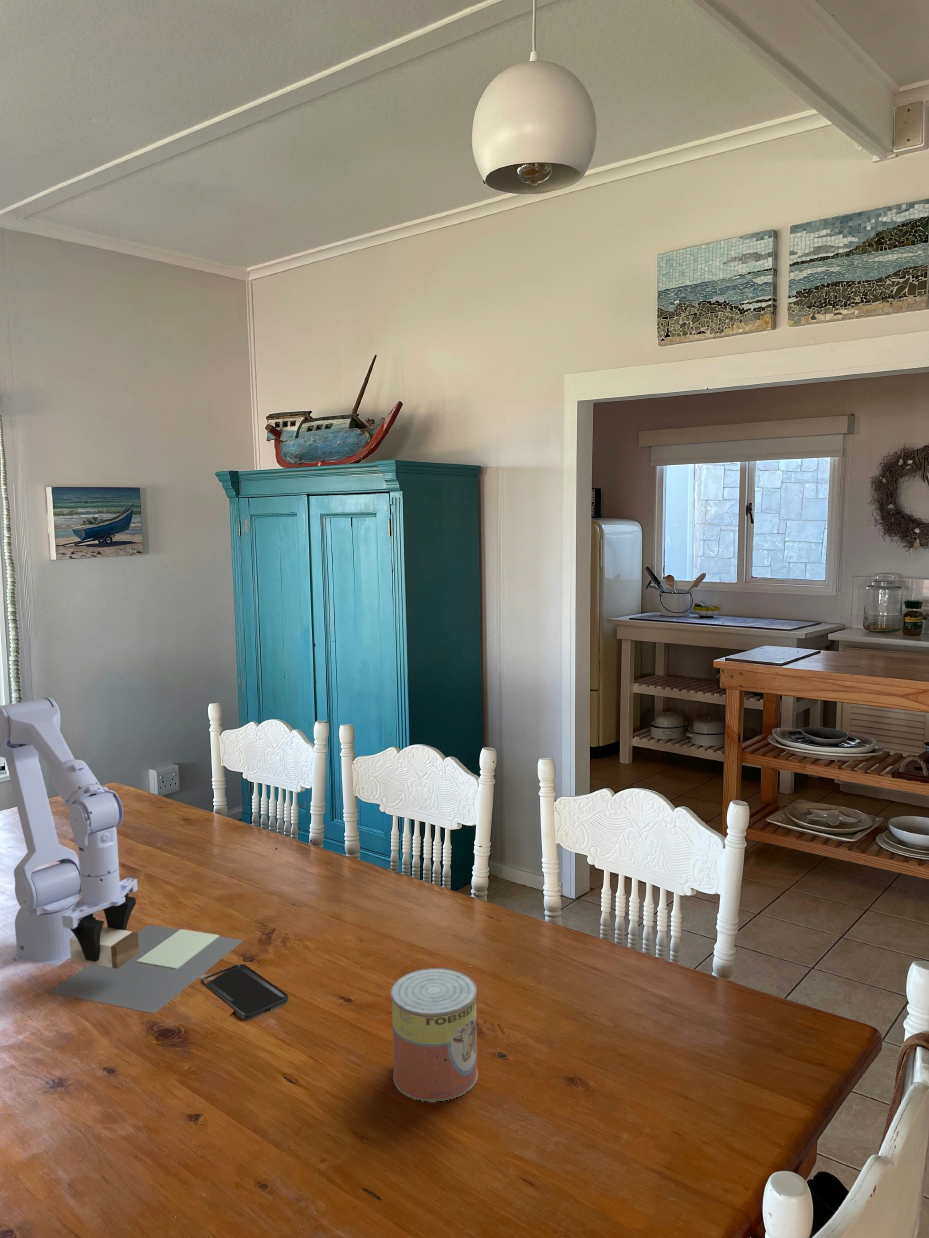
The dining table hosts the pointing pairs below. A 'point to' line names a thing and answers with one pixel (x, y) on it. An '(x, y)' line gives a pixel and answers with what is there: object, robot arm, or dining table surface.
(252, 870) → the dining table surface
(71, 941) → the card box
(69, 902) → the robot arm
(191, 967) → the mat
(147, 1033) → the dining table surface
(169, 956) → the pad
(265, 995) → the phone
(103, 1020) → the dining table surface
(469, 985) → the canned food
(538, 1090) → the dining table surface
